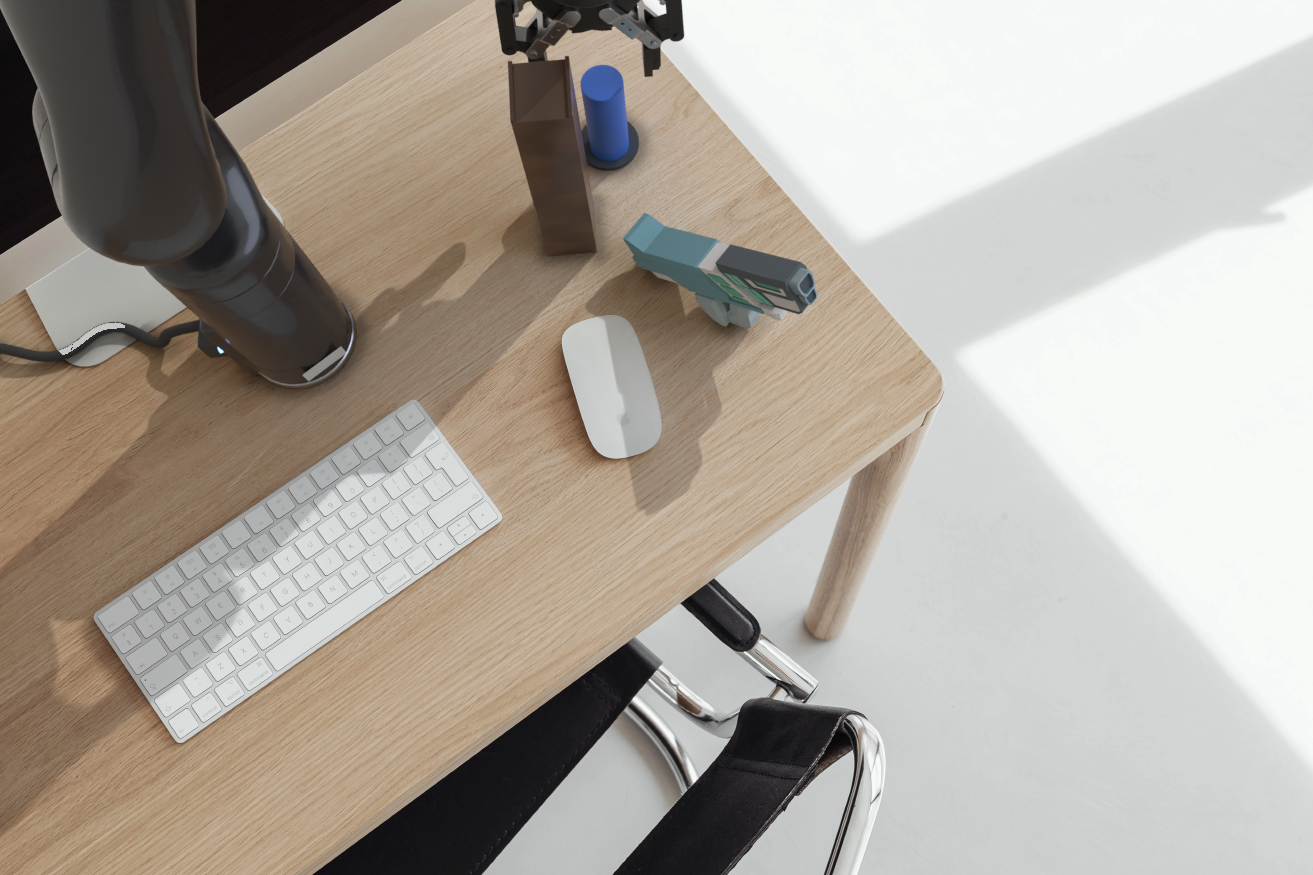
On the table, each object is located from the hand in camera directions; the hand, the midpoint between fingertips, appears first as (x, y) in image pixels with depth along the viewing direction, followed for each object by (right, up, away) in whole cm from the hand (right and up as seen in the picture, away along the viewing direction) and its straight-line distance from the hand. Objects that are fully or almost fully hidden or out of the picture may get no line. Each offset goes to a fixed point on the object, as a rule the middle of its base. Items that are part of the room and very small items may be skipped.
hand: (596, 72), depth 83 cm
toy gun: (+10, -19, +5) cm, 22 cm away
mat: (+1, -3, +10) cm, 10 cm away
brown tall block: (-3, -12, +7) cm, 14 cm away
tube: (0, -2, +5) cm, 5 cm away
